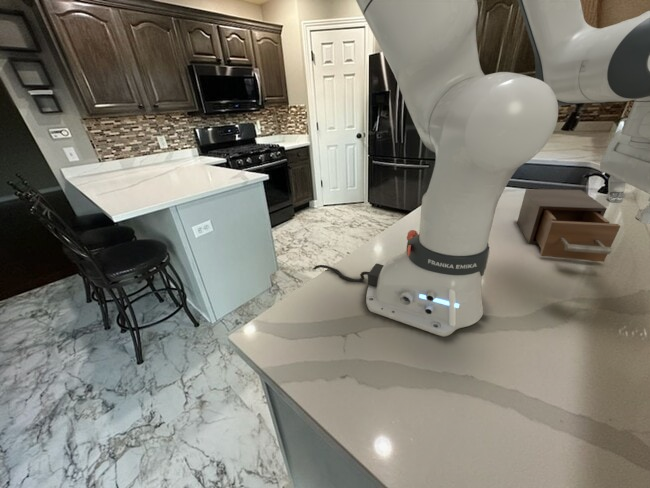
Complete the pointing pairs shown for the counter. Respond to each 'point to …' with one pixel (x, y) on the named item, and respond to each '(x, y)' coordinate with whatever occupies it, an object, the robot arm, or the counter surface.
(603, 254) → the drawer
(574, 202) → the cabinet
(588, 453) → the counter surface
